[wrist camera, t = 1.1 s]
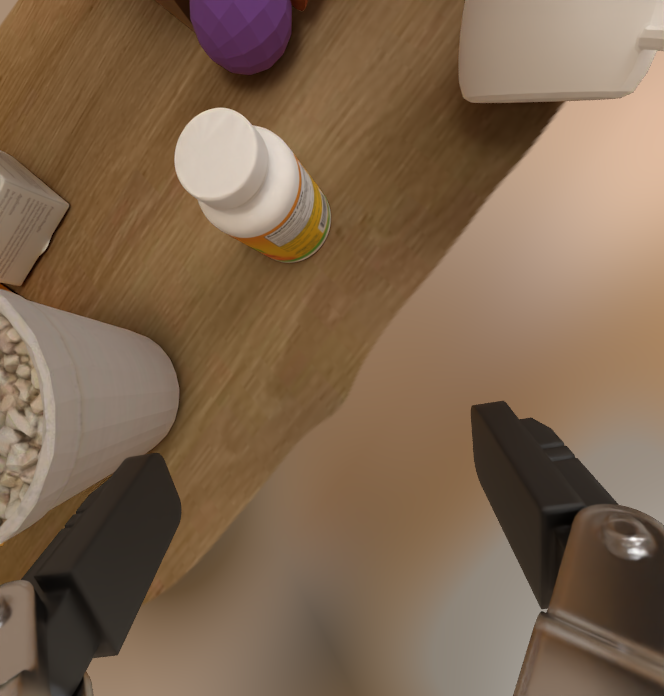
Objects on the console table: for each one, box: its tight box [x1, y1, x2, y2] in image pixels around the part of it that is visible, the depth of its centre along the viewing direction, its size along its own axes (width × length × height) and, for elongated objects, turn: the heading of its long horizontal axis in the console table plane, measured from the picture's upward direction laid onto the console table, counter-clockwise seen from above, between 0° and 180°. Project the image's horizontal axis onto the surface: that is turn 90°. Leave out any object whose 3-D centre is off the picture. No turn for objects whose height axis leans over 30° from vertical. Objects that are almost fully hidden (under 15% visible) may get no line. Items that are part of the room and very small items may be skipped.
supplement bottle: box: [175, 108, 331, 263], centre depth 22 cm, size 5×5×10 cm
